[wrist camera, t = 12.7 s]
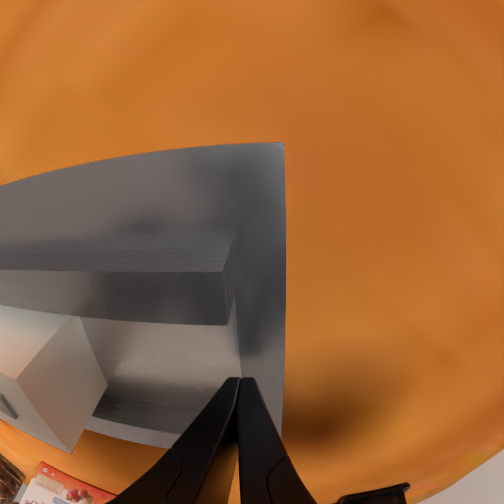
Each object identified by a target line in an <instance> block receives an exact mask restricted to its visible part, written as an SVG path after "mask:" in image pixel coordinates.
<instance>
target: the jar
mask: <svg viewBox="0 0 504 504" xmlns="http://www.w3.org/2000/svg"><path fill="white" fill-rule="evenodd" d="M24 479H25V476H24V474H23V473H22V472H20V471H19V470H18V469H17V468H16V467H15V466H14V465H12V464H11V463H10V462H9V461H8V460H7V459H5V458H4V457H3V456H2V455H1V454H0V504H8V503H12V502H14V499H15V497H16V495H17V493H18V491H19V489H20V487H21V485H22V483H23V481H24Z"/></svg>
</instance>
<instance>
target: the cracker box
mask: <svg viewBox="0 0 504 504" xmlns="http://www.w3.org/2000/svg"><path fill="white" fill-rule="evenodd" d="M115 497H116V495H113V494H110V493H108V492H105V491H102V490H100V489H97V488H95V487H93V486H90V485H88V484H86V483H83V482H81V481H79V480H77V479H75V478H73V477H70V476H68V475H66V474H64V473H62V472H60V471H58V470H57V469H55V468H53V467H51V466H49V465H47V464H46V463H44V462H41V463H40V465H39V467H38V469H37V470H36V472H35V474H34V476H33V478H32V480H31V482H30V483H29V485H28V488H27V489H26V492H25V493H24V495H23V498H22V499H21V501H20V503H19V504H104V503H106V502H108V501H110V500H112V499H114V498H115Z"/></svg>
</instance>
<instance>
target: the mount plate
mask: <svg viewBox="0 0 504 504" xmlns="http://www.w3.org/2000/svg"><path fill="white" fill-rule="evenodd" d="M0 305H4V306H10V307H16V308H22V309H28V310H34V311H41V312H48V313H55V314H63V315H71V316H79V317H80V320H81V323H82V325H83V328H84V331H85V333H86V336H87V338H88V341H89V343H90V346H91V348H92V351H93V353H94V356H95V358H96V360H97V362H98V365H99V367H100V369H101V371H102V374H103V376H104V378H105V380H106V382H107V384H108V386H107V388H106V390H105V391H104V393H103V395H102V397H101V399H100V401H99V402H98V404H97V406H96V408H95V410H94V412H93V414H92V415H91V417H90V419H89V421H88V423H87V425H86V427H85V429H87V430H90V431H94V432H97V433H100V434H104V435H107V436H111V437H115V438H119V439H123V440H127V441H131V442H135V443H140V444H145V445H150V446H155V447H160V448H166V449H169V448H171V446H172V445H173V444H174V443H175V442H176V440H177V439H178V438H179V437H180V436H181V435H182V433H183V432H184V431H185V430H186V429H187V427H188V426H189V425H190V424H191V423H192V421H193V420H194V419H195V418H196V417H197V415H198V414H199V413H200V412H201V411H202V409H203V408H204V407H205V406H206V404H207V403H208V402H209V401H210V399H211V398H212V397H213V396H214V395H215V393H216V392H217V391H218V389H219V388H220V387H221V386H222V384H223V383H224V382H225V381H226V379H227V378H228V377H240V378H241V379H242V378H243V377H254V378H255V380H256V382H257V385H258V387H259V389H260V392H261V394H262V396H263V399H264V401H265V404H266V406H267V408H268V411H269V413H270V415H271V418H272V420H273V422H274V424H275V427H276V429H277V431H278V434H279V436H280V438H281V431H282V411H283V388H284V358H285V314H286V207H285V162H284V142H264V143H240V144H224V145H211V146H199V147H189V148H179V149H171V150H163V151H155V152H148V153H141V154H134V155H128V156H122V157H116V158H110V159H105V160H100V161H95V162H90V163H85V164H80V165H75V166H71V167H67V168H62V169H58V170H54V171H50V172H46V173H42V174H38V175H35V176H31V177H27V178H24V179H20V180H17V181H14V182H10V183H7V184H4V185H1V186H0Z"/></svg>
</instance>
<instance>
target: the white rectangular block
mask: <svg viewBox="0 0 504 504" xmlns="http://www.w3.org/2000/svg"><path fill="white" fill-rule="evenodd" d="M107 386H108V384H107V382H106V380H105V378H104V376H103V374H102V371H101V369H100V367H99V365H98V362H97V360H96V358H95V356H94V353H93V351H92V348H91V346H90V343H89V341H88V338H87V336H86V333H85V331H84V328H83V325H82V323H81V320H80V317H79V316H71V315H63V314H55V313H48V312H41V311H34V310H28V309H22V308H16V307H10V306H4V305H0V418H1V419H2V420H4V421H6V422H7V423H9V424H11V425H12V426H14V427H16V428H18V429H20V430H21V431H23V432H25V433H27V434H29V435H31V436H33V437H35V438H37V439H39V440H41V441H43V442H45V443H47V444H49V445H52V446H54V447H56V448H58V449H61V450H63V451H65V452H68V453H70V454H72V452H73V450H74V448H75V446H76V444H77V442H78V440H79V438H80V436H81V435H82V433H83V431H84V429H85V427H86V425H87V423H88V421H89V419H90V417H91V415H92V414H93V412H94V410H95V408H96V406H97V404H98V402H99V401H100V399H101V397H102V395H103V393H104V391H105V390H106V388H107Z"/></svg>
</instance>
